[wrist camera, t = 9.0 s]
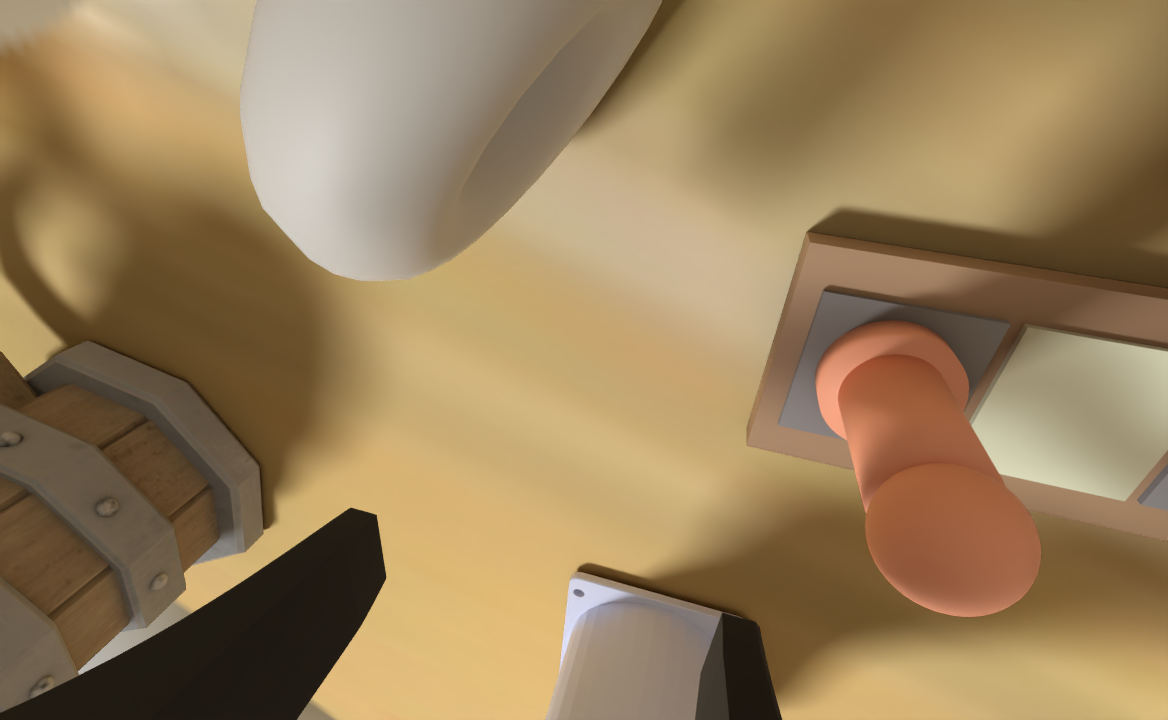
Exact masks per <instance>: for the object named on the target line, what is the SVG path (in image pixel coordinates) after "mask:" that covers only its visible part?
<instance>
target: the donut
mask: <svg viewBox="0 0 1168 720" xmlns="http://www.w3.org/2000/svg"><path fill="white" fill-rule="evenodd" d="M662 1H663V0H256V4H255V10H254V15H253V21H252V27H251V32H250V38H249V43H248V49H247V55H246V60H245V66H244V71H243V77H242V83H241V90H240V118H241V124H242V130H243V136H244V142H245V148H246V154H247V160H248V166H249V172H250V178H251V181H252V183H253V186H254V188H255V191H256V193H257V195H258V198H259V200H260V203H261V205H262V208H263V209H264V210H265V211H266V212H267V213H268V215H269V216H270V217H271V218H272V219H273V220H274V221H275V222H276V224H277V225H278V226H279V227H280V228H281V229H282V230H283V231H284V233H285V234H286V235H287V236H288V237H289V238H290V239H291V240H292V241H293V242H294V243H295V244H296V246H297V247H298V248H299V249H300V250H301V251H302V252H303V253H304V254H305V255H306V256H307V257H308V258H309V259H310V260H312V261H313V262H315V263H316V264H318V265H320V266H321V267H323V268H325V269H326V270H328V271H330V272H331V273H333V274H336V275H340V276H344V277H348V278H351V279H355V280H359V281H387V280H405V279H411V278H414V277H416V276H419V275H421V274H424V273H426V272H429V271H431V270H433V269H435V268H437V267H439V266H440V265H442V264H444V263H446V262H448V261H450V260H452V259H453V258H455V257H456V256H457V255H458V254H460V253H461V252H462V251H464V250H465V249H466V248H467V247H469V246H470V245H471V244H472V243H474V242H475V241H476V240H478V239H479V238H480V237H481V236H482V235H483V234H484V233H485V232H486V231H487V230H488V229H489V228H490V227H492V226H493V225H494V224H495V223H496V222H497V221H498V220H499V219H500V218H501V217H502V216H503V215H504V214H505V213H506V212H507V211H508V210H509V209H510V208H511V207H512V206H513V205H514V204H515V203H516V202H517V201H518V200H519V199H520V198H521V197H522V195H523V194H524V193H525V192H526V191H527V190H528V189H529V188H530V187H531V186H532V185H533V184H534V183H535V182H536V181H537V179H538V178H539V177H540V176H541V175H542V174H543V173H544V171H545V170H546V169H547V168H548V167H549V166H550V164H551V163H552V162H553V161H554V160H555V158H556V157H557V156H558V155H559V154H560V153H561V151H562V150H563V149H564V148H565V147H566V145H567V144H568V143H569V142H570V140H571V139H572V138H573V136H574V135H575V134H576V133H577V131H578V130H579V129H580V127H581V126H582V125H583V124H584V122H585V121H586V120H587V118H588V117H589V116H590V115H591V113H592V112H593V110H594V109H595V108H596V106H597V105H598V103H599V102H600V101H601V99H602V98H603V96H604V95H605V93H606V92H607V91H608V89H609V88H610V86H611V85H612V84H613V82H614V81H615V79H616V78H617V76H618V75H619V73H620V72H621V71H622V69H623V68H624V66H625V64H626V63H627V61H628V60H629V58H630V56H631V55H632V53H633V52H634V50H635V48H636V47H637V45H638V44H639V42H640V40H641V39H642V37H643V36H644V34H645V33H646V31H647V29H648V28H649V26H650V24H651V22H652V20H653V18H654V16H655V15H656V13H657V11H658V9H659V7H660V5H661V3H662Z"/></svg>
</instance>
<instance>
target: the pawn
mask: <svg viewBox="0 0 1168 720" xmlns="http://www.w3.org/2000/svg"><path fill="white" fill-rule="evenodd" d="M815 387H816V392H817V398H818V403H819V407H820V411H821V414H822V416H823V418H824V420H825V422H826V423H827V424H828V426H829V427H830V428H831V429H832V430H833V431H834V432H835V433H836V434H837V435H839V436H840V437H842V438H843V439H845V440H847V441H848V445H849V449H850V453H851V457H852V461H853V465H854V469H855V473H856V477H857V481H858V485H859V489H860V494H861V498H862V502H863V506H864V509H865V512H866V521H865V533H866V539H867V544H868V547H869V550H870V553H871V555H872V558H873V560H874V562H875V564H876V565H877V567H878V569H879V570H880V572H881V573H882V574H883V575H884V577H885V578H886V579H887V580H888V581H889V583H891V584H892V585H893V586H894V587H895V588H896V589H897V590H898V591H899V592H900V593H902V594H903V595H905V596H906V597H907V598H909V599H910V600H912V601H913V602H915V603H917V604H919V605H921V606H923V607H925V608H928V609H930V610H933V611H936V612H939V613H943V614H948V615H952V616H961V617H976V616H984V615H989V614H993V613H996V612H999V611H1001V610H1004V609H1006V608H1008V607H1010V606H1011V605H1013V604H1015V603H1016V602H1017V601H1019V600H1020V599H1021V598H1022V597H1023V596H1024V595H1025V594H1026V593H1027V592H1028V590H1029V589H1030V588H1031V586H1032V585H1033V583H1034V581H1035V579H1036V577H1037V574H1038V572H1039V567H1040V562H1041V543H1040V539H1039V535H1038V531H1037V528H1036V526H1035V523H1034V521H1033V519H1032V517H1031V515H1030V513H1029V512H1028V511H1027V509H1026V508H1025V506H1024V505H1023V504H1022V502H1021V501H1020V500H1019V499H1018V498H1017V497H1016V496H1015V495H1014V494H1013V493H1012V492H1011V491H1010V490H1009V489H1008V488H1006V486H1005V484H1004V482H1003V480H1002V478H1001V476H1000V474H999V473H998V471H997V469H996V467H995V466H994V464H993V462H992V461H991V459H990V457H989V455H988V454H987V452H986V450H985V448H984V447H983V445H982V443H981V442H980V440H979V438H978V436H977V435H976V433H975V431H974V430H973V428H972V426H971V424H970V423H969V421H968V419H967V417H966V416H965V414H964V412H963V410H964V408H965V406H966V404H967V400H968V396H969V381H968V377H967V374H966V372H965V370H964V368H963V366H962V364H961V363H960V361H959V360H958V358H957V357H956V355H955V354H954V352H953V351H952V349H951V348H950V346H949V345H948V344H947V342H946V341H945V340H944V339H943V338H942V337H941V336H940V335H938V334H937V333H935V332H934V331H932V330H930V329H929V328H927V327H924V326H922V325H919V324H916V323H912V322H907V321H899V320H887V321H877V322H872V323H868V324H865V325H862V326H859V327H857V328H854V329H852V330H850V331H848V332H846V333H845V334H843V335H842V336H840V337H839V338H837V339H836V340H835V341H834V342H833V343H832V344H831V345H830V346H829V347H828V348H827V349H826V350H825V352H824V353H823V355H822V356H821V358H820V360H819V362H818V365H817V368H816V372H815Z"/></svg>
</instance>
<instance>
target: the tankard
mask: <svg viewBox="0 0 1168 720" xmlns="http://www.w3.org/2000/svg"><path fill="white" fill-rule="evenodd" d="M262 535H263V519H262V503H261V486H260V470H259V464H258V463H257V462H256V460H255V459H254V458H253V457H252V456H251V455H250V454H249V452H248V451H247V450H246V449H245V448H244V447H243V445H242V444H241V443H240V442H239V441H238V440H237V439H236V437H235V436H234V435H233V434H232V433H231V432H230V430H229V429H228V428H227V427H226V426H225V425H224V423H223V422H222V421H221V420H220V419H219V418H218V417H217V415H216V414H215V413H214V412H213V411H212V410H211V408H210V407H209V406H208V405H207V404H206V403H205V402H204V400H203V399H202V398H201V397H200V396H199V395H198V393H197V392H196V391H195V390H194V389H193V388H192V386H191V385H190V384H189V383H187V382H185V381H183V380H180V379H178V378H176V377H173V376H171V375H169V374H166V373H164V372H162V371H159V370H157V369H155V368H152V367H150V366H148V365H145V364H143V363H141V362H138V361H136V360H134V359H131V358H129V357H127V356H124V355H122V354H120V353H117V352H115V351H113V350H110V349H108V348H106V347H103V346H101V345H99V344H96V343H93V342H90V341H85V342H83V343H81V344H78V345H76V346H74V347H72V348H69V349H67V350H65V351H63V352H60V353H58V354H57V355H55V356H54V357H52V358H51V359H49V360H48V361H47V362H45V363H44V364H42V365H41V366H39V367H38V368H36V369H35V370H34V371H32V372H31V373H29V374H28V375H26V376H25V377H22V376H21V375H20V374H19V372H18V371H17V370H16V369H15V368H14V366H13V365H12V364H11V363H10V362H9V360H8V359H7V358H6V357H5V356H4V354H3V353H2V352H1V351H0V712H3V711H5V710H7V709H9V708H12V707H14V706H16V705H18V704H21V703H23V702H25V701H27V700H30V699H32V698H34V697H36V696H38V695H40V694H42V693H44V692H46V691H48V690H50V689H52V688H54V687H56V686H58V685H60V684H62V683H65V682H67V681H69V680H71V679H73V678H75V677H77V676H79V674H78V671H79V670H80V669H81V668H82V667H83V666H84V665H85V664H86V663H87V662H88V661H89V660H90V659H92V657H94V656H95V654H97V653H98V652H99V651H100V650H101V649H102V648H103V647H104V646H106V645H107V644H108V643H109V642H110V641H111V640H112V639H113V638H114V637H115V636H116V635H117V634H118V633H119V632H124V631H129V630H135V629H142V628H147V627H148V626H149V625H150V624H151V623H152V622H153V621H154V620H155V619H156V618H157V617H158V616H159V615H160V614H161V613H162V612H163V611H164V610H165V609H166V608H167V607H168V606H169V605H170V604H171V603H172V602H174V601H175V600H176V599H177V598H178V597H179V596H180V595H181V594H182V593H183V592H184V591H185V590H186V583H185V578H184V572H185V571H186V570H187V569H188V568H189V567H190V566H192V565H196V564H200V563H204V562H208V561H212V560H216V559H220V558H224V557H228V556H232V555H236V554H240V553H244V552H246V551H247V550H248V549H249V548H250V547H251V546H252V545H253V544H254V543H255V542H256V541H257V540H258V539H259V538H260V537H261V536H262Z"/></svg>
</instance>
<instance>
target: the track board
mask: <svg viewBox="0 0 1168 720" xmlns="http://www.w3.org/2000/svg"><path fill="white" fill-rule="evenodd" d="M887 320H899V321H907V322H912V323H916V324H919V325H922V326H924V327H927V328H929V329H930V330H932V331H934V332H935V333H937V334H938V335H940V336H941V337H942V338H943V339H944V340H945V341H946V342H947V344H948V345H949V346H950V348H951V349H952V351H953V352H954V354H955V355H956V357H957V358H958V360H959V361H960V363H961V364H962V366H963V368H964V370H965V372H966V374H967V377H968V381H969V396H968V400H967V404H966V406H965V408H964V410H963V412H964V414H965V416H966V417H967V419H968V421H969V423H970V424H971V426H972V428H973V430H974V431H975V433H976V435H977V436H978V438H979V440H980V442H981V443H982V445H983V447H984V448H985V450H986V452H987V454H988V455H989V457H990V459H991V461H992V462H993V464H994V466H995V467H996V469H997V471H998V473H999V474H1000V476H1001V478H1002V480H1003V482H1004V484H1005V486H1006V488H1008V489H1009V490H1010V491H1011V492H1012V493H1013V494H1014V495H1015V496H1016V497H1017V498H1018V499H1019V500H1020V501H1021V502H1022V504H1023V505H1024V506H1025V508H1026V509H1027V510H1031V511H1035V512H1040V513H1044V514H1048V515H1053V516H1057V517H1062V518H1066V519H1070V520H1075V521H1079V522H1084V523H1088V524H1092V525H1097V526H1101V527H1105V528H1110V529H1114V530H1119V531H1123V532H1127V533H1132V534H1136V535H1141V536H1145V537H1149V538H1154V539H1158V540H1163V541H1167V542H1168V288H1162V287H1155V286H1149V285H1143V284H1136V283H1130V282H1124V281H1117V280H1111V279H1105V278H1098V277H1092V276H1086V275H1079V274H1073V273H1067V272H1060V271H1054V270H1047V269H1041V268H1035V267H1028V266H1022V265H1016V264H1009V263H1003V262H997V261H990V260H984V259H978V258H971V257H965V256H958V255H952V254H946V253H939V252H933V251H927V250H920V249H914V248H908V247H901V246H895V245H889V244H882V243H876V242H869V241H863V240H857V239H850V238H844V237H838V236H831V235H825V234H819V233H812V232H807V233H806V236H805V239H804V242H803V246H802V249H801V252H800V255H799V259H798V262H797V265H796V268H795V272H794V275H793V278H792V282H791V285H790V288H789V291H788V295H787V298H786V301H785V304H784V308H783V311H782V314H781V318H780V321H779V324H778V327H777V331H776V334H775V337H774V340H773V344H772V347H771V350H770V354H769V357H768V360H767V363H766V367H765V370H764V373H763V376H762V380H761V383H760V386H759V389H758V393H757V396H756V399H755V403H754V406H753V409H752V412H751V416H750V419H749V422H748V425H747V446H750V447H754V448H759V449H763V450H767V451H772V452H776V453H780V454H785V455H789V456H794V457H798V458H802V459H807V460H811V461H816V462H820V463H824V464H829V465H833V466H838V467H842V468H846V469H851V470H855V469H854V465H853V461H852V457H851V453H850V449H849V445H848V441H847V440H845V439H843V438H842V437H840V436H839V435H837V434H836V433H835V432H834V431H833V430H832V429H831V428H830V427H829V426H828V424H827V423H826V422H825V420H824V418H823V416H822V414H821V411H820V407H819V403H818V398H817V392H816V387H815V372H816V368H817V365H818V362H819V360H820V358H821V356H822V355H823V353H824V352H825V350H826V349H827V348H828V347H829V346H830V345H831V344H832V343H833V342H834V341H835V340H836V339H837V338H839V337H840V336H842V335H843V334H845V333H846V332H848V331H850V330H852V329H854V328H857V327H859V326H862V325H865V324H868V323H872V322H877V321H887Z"/></svg>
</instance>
